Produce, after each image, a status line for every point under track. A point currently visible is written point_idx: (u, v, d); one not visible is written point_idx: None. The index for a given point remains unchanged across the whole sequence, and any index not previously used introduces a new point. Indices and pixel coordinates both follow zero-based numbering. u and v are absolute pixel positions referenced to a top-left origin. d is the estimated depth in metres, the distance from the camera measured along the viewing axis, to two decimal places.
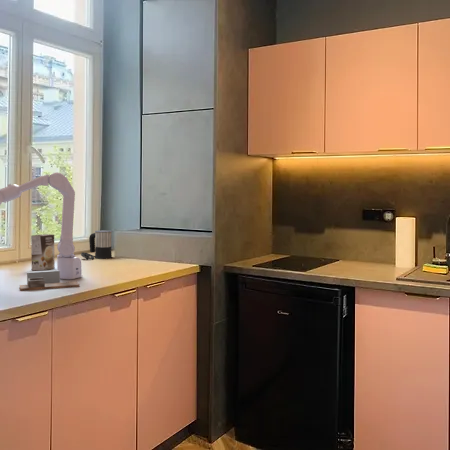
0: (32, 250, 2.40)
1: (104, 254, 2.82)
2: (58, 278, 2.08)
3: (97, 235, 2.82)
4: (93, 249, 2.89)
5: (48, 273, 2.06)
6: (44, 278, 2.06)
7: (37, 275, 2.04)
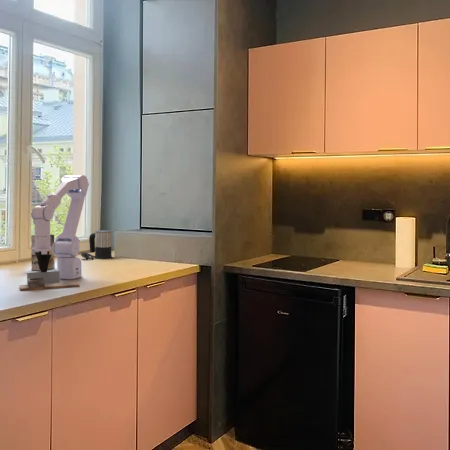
0: (32, 250, 2.40)
1: (104, 254, 2.82)
2: (58, 278, 2.08)
3: (97, 235, 2.81)
4: (93, 249, 2.89)
5: (48, 273, 2.06)
6: (44, 278, 2.06)
7: (37, 275, 2.04)
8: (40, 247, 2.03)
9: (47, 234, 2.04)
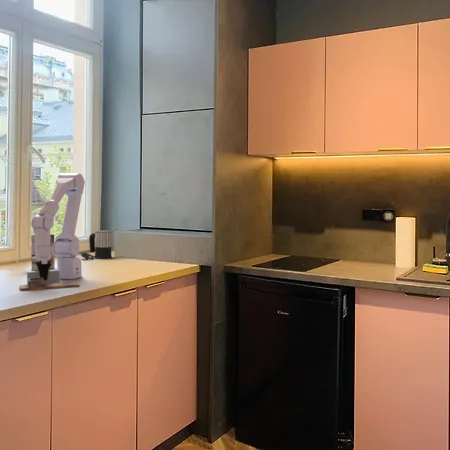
0: (32, 250, 2.40)
1: (103, 255, 2.81)
2: (58, 278, 2.08)
3: (97, 235, 2.81)
4: (93, 249, 2.88)
5: (48, 273, 2.06)
6: None
7: (37, 275, 2.04)
8: (40, 256, 2.03)
9: (47, 243, 2.05)
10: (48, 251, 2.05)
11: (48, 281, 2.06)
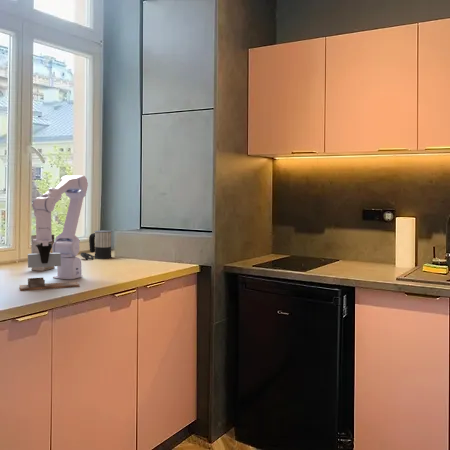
0: (32, 250, 2.40)
1: (103, 255, 2.81)
2: (59, 260, 2.06)
3: (97, 235, 2.81)
4: (93, 249, 2.88)
5: (49, 255, 2.04)
6: None
7: (37, 257, 2.03)
8: (41, 239, 2.02)
9: (49, 225, 2.03)
10: (49, 233, 2.03)
11: (49, 264, 2.04)
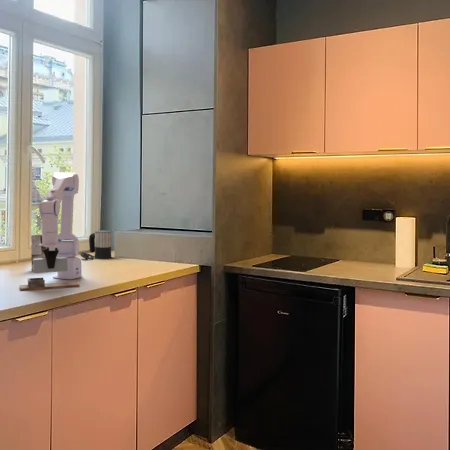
0: (32, 250, 2.40)
1: (103, 255, 2.81)
2: (66, 265, 2.00)
3: (97, 235, 2.81)
4: (93, 249, 2.88)
5: None
6: None
7: (44, 262, 1.97)
8: (47, 243, 1.96)
9: (56, 229, 1.98)
10: (55, 238, 1.97)
11: (55, 269, 1.98)
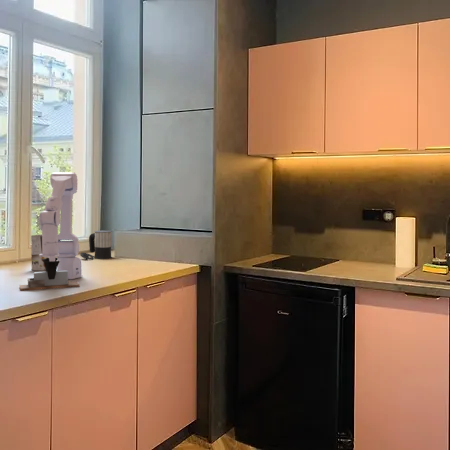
0: (32, 250, 2.40)
1: (103, 255, 2.81)
2: (66, 279, 2.00)
3: (96, 235, 2.81)
4: (93, 249, 2.88)
5: (56, 274, 1.99)
6: (51, 279, 1.98)
7: (44, 276, 1.97)
8: (48, 254, 1.96)
9: (57, 240, 1.98)
10: (56, 248, 1.97)
11: (56, 282, 1.99)
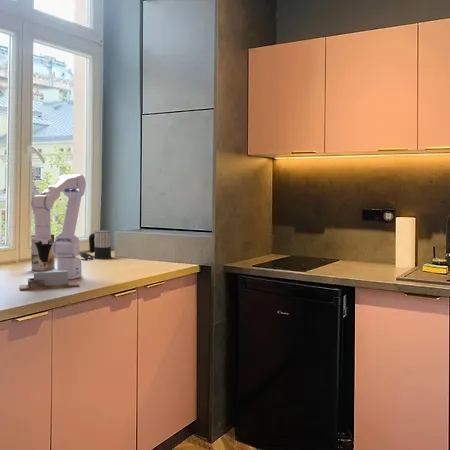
0: (32, 250, 2.40)
1: (103, 255, 2.81)
2: (66, 279, 2.00)
3: (96, 235, 2.81)
4: (93, 249, 2.88)
5: (56, 274, 1.99)
6: (51, 279, 1.98)
7: (44, 276, 1.97)
8: (40, 237, 2.00)
9: (48, 223, 2.01)
10: (48, 231, 2.02)
11: (56, 282, 1.99)
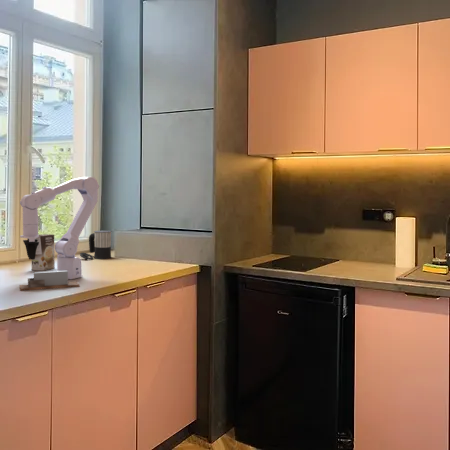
0: None
1: (103, 255, 2.81)
2: (66, 279, 2.00)
3: (96, 235, 2.81)
4: (93, 249, 2.88)
5: (56, 274, 1.99)
6: (51, 279, 1.98)
7: (44, 276, 1.97)
8: (28, 235, 2.08)
9: (31, 222, 2.08)
10: (36, 230, 2.09)
11: (56, 282, 1.99)
